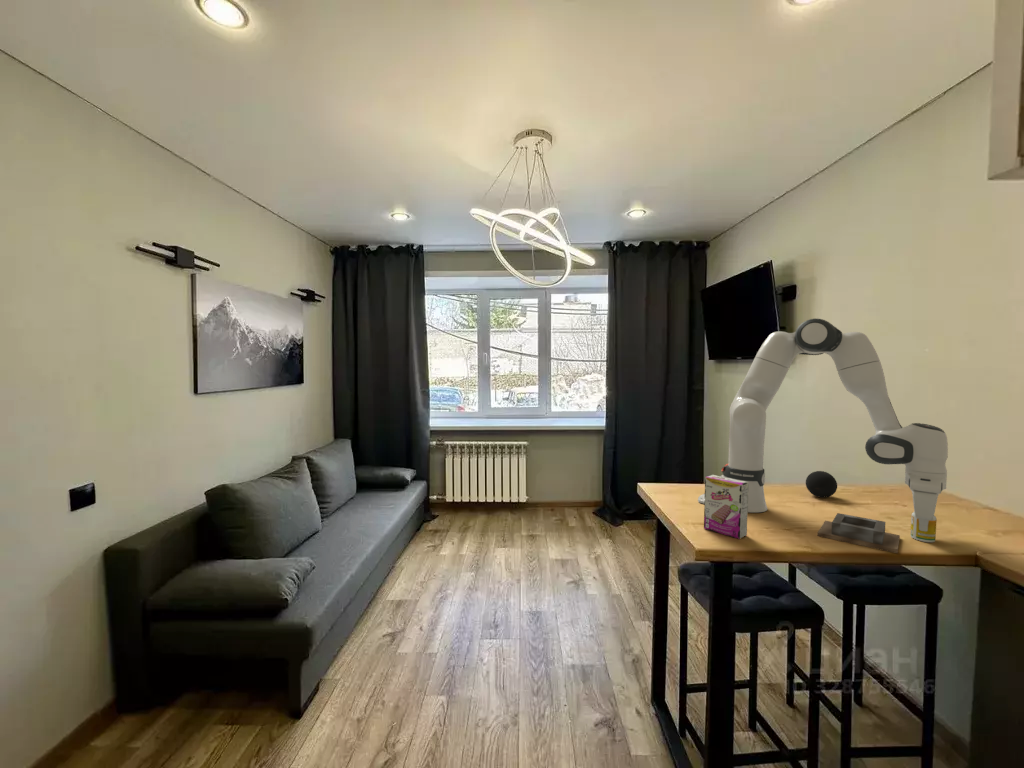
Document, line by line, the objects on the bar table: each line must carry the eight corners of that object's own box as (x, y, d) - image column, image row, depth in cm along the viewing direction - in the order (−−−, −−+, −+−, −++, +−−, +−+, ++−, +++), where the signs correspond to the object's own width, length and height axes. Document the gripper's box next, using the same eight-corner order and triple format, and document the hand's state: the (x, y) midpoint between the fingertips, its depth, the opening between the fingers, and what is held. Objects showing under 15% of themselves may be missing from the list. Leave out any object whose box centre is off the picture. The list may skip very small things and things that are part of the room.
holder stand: (817, 535, 132) (817, 520, 132) (825, 523, 143) (825, 509, 142) (897, 553, 120) (898, 536, 120) (899, 538, 130) (900, 523, 130)
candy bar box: (702, 529, 138) (704, 476, 137) (710, 525, 141) (712, 474, 140) (740, 540, 129) (741, 484, 128) (747, 536, 132) (749, 481, 131)
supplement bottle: (905, 536, 133) (906, 504, 132) (922, 535, 133) (923, 503, 132) (923, 543, 127) (924, 509, 127) (940, 542, 127) (942, 509, 127)
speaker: (843, 501, 166) (844, 474, 166) (815, 500, 167) (816, 474, 166) (825, 493, 176) (826, 468, 176) (799, 493, 177) (800, 468, 176)
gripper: (911, 472, 139) (909, 515, 140) (909, 484, 124) (907, 533, 125) (939, 475, 135) (937, 520, 135) (941, 489, 120) (939, 539, 120)
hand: (923, 527), depth 130 cm, fingers open, 6 cm apart
